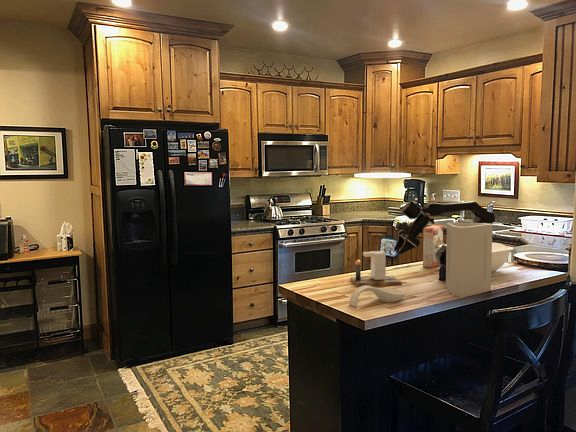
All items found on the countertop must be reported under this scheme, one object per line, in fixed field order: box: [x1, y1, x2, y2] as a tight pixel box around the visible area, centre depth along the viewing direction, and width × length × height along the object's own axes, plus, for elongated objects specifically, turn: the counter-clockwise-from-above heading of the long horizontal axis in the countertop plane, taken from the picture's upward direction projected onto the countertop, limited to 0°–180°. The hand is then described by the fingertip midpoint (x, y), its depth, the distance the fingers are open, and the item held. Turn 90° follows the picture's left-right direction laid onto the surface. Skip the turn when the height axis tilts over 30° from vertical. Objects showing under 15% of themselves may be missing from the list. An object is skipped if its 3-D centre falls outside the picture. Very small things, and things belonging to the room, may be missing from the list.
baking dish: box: [438, 242, 514, 273], centre depth 233 cm, size 34×28×13 cm
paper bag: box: [445, 222, 493, 298], centre depth 195 cm, size 19×15×28 cm
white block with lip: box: [362, 250, 387, 280], centre depth 211 cm, size 9×6×12 cm, turn 96°
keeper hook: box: [354, 259, 362, 280], centre depth 210 cm, size 3×3×9 cm
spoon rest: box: [349, 286, 406, 308], centre depth 180 cm, size 24×12×7 cm, turn 118°
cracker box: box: [422, 225, 444, 269], centre depth 247 cm, size 14×6×21 cm, turn 143°
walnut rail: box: [349, 275, 403, 288], centre depth 212 cm, size 20×12×2 cm, turn 96°
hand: (396, 252), depth 214 cm, fingers open, 9 cm apart
